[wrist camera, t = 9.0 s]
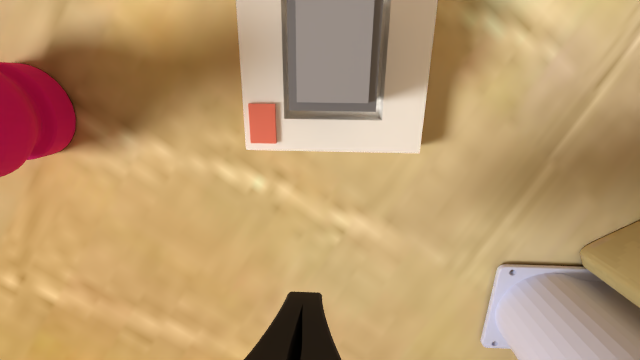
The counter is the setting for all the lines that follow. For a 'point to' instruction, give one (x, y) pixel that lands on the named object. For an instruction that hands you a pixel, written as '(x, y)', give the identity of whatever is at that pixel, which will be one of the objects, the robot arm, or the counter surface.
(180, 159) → the counter surface
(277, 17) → the socket plate
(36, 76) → the pepper mill
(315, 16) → the plug
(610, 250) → the tan rectangular block
